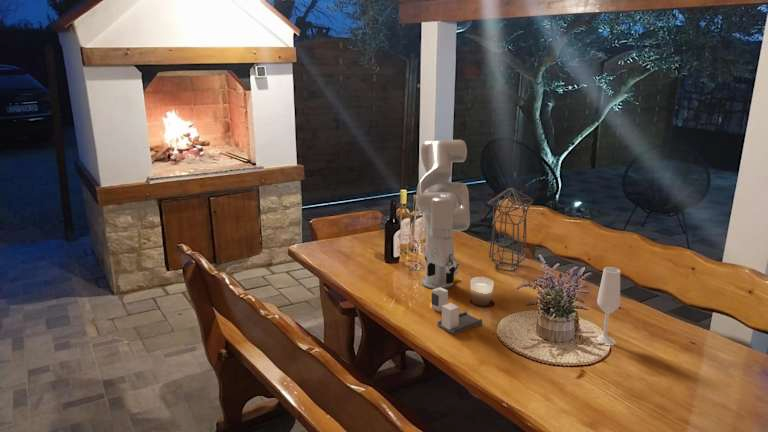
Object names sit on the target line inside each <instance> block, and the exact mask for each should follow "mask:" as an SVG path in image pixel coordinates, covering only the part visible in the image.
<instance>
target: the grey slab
mask: <svg viewBox="0 0 768 432" xmlns="http://www.w3.org/2000/svg"><path fill="white" fill-rule="evenodd" d="M441 324H442V319H441V320H438V321H437V327H439V328H440V329H442V330H444V331H446V332H449V334H452V335H453V336H454V335H457V334H459V333H462V332H464V331H467V330H470V329H472V328H475V327H478V326H480V325H482V324H483V319H482V318H479V319H478V318H477V317H475V316H472V315H470V314H468V313H467V311H464V312H461V313H460V312H459V326H458V327H455V328H453V329H450V330H449V329H448V328H446V327H444V326H442V325H441Z"/></svg>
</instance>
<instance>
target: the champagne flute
mask: <svg viewBox="0 0 768 432" xmlns="http://www.w3.org/2000/svg"><path fill="white" fill-rule="evenodd" d="M599 285H600V287H599V290H598V294H597V299H596V303H597V307H599V309H601V311H602V312H604V322H603V323H604V324H603V333H602V334H600V335H597V336H598V337H597V338H596V339H597V340H598V341H599V342H602V343H608V344H610V345H611V346H615V345H616V343H617V342H616V340H614V339H613V338H612V337H610V336H609V335H608V329H609V319H610V314H611V313H612V314H613V312H616V311H617V310H618V309H619V308H620V305H621V270H620V269H619V268H616V267H611V266H606V267H604V268H603V271H602V277H601V281H600V284H599ZM611 346H610V347H611Z"/></svg>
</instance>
